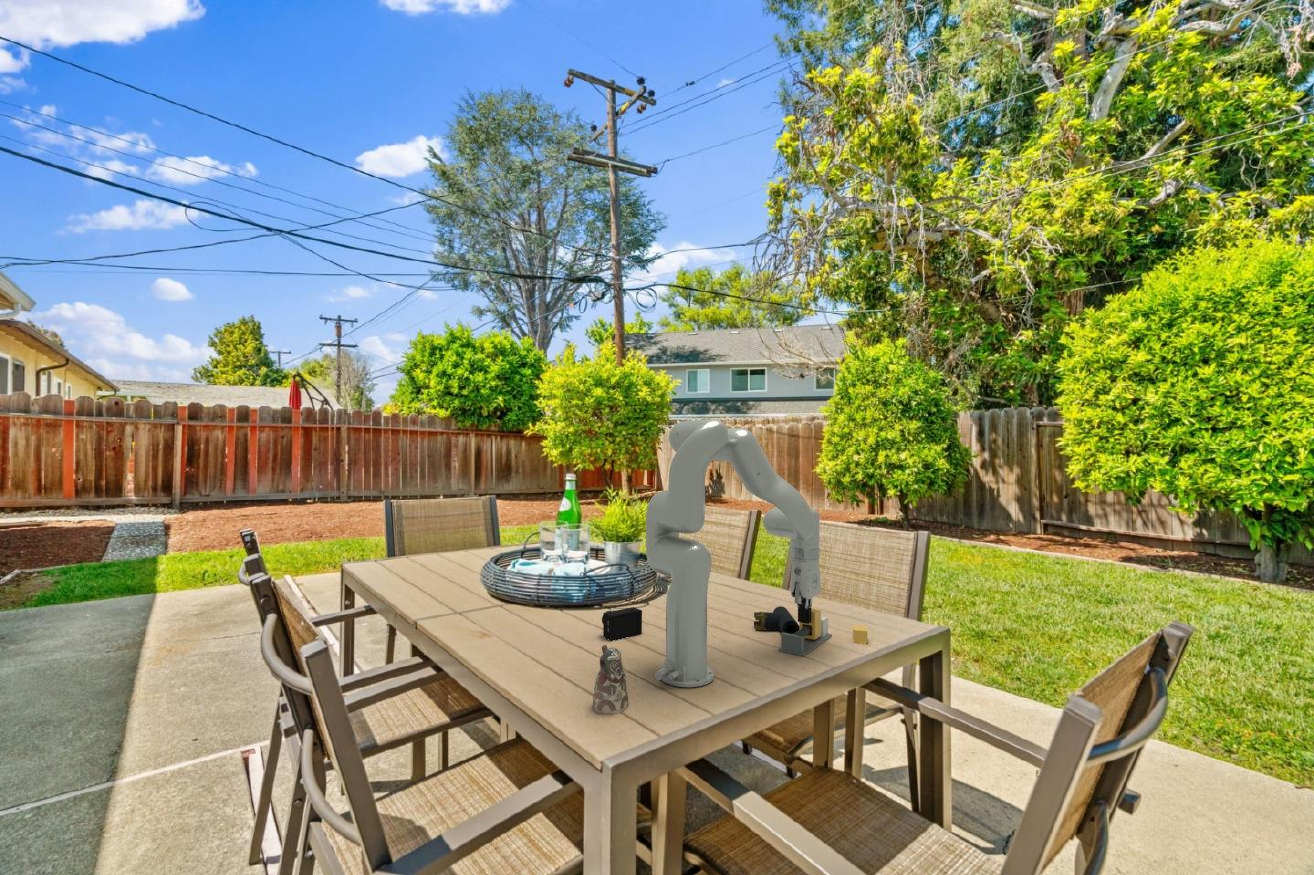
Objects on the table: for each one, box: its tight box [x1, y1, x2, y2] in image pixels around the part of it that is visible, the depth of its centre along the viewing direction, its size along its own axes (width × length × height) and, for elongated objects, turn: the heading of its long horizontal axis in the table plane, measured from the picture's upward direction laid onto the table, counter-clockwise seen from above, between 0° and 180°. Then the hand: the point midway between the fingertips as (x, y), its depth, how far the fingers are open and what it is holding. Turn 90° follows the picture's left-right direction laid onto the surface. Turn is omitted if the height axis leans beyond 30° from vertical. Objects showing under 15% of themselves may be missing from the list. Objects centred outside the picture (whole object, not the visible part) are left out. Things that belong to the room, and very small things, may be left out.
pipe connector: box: [753, 605, 800, 634], centre depth 170 cm, size 12×5×15 cm
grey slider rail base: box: [778, 615, 833, 658], centre depth 158 cm, size 20×7×5 cm, turn 143°
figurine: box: [592, 644, 630, 715], centre depth 119 cm, size 7×7×12 cm
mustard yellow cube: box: [852, 625, 868, 644], centre depth 160 cm, size 4×4×4 cm
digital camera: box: [601, 606, 643, 642], centre depth 164 cm, size 10×5×7 cm, turn 126°
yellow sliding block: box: [799, 607, 822, 640], centre depth 160 cm, size 4×4×7 cm
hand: (804, 622), depth 157 cm, fingers closed
